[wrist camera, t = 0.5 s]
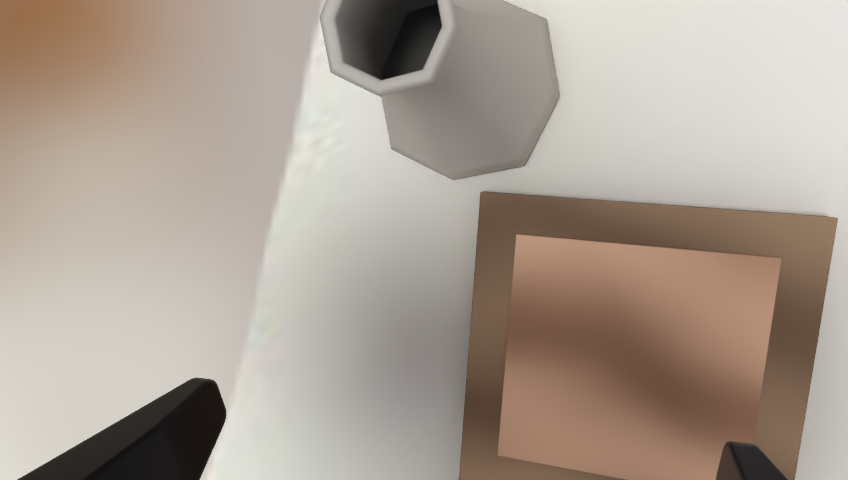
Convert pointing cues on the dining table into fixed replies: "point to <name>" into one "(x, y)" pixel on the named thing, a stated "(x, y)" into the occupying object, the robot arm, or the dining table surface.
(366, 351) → the dining table surface
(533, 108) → the flask
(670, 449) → the walnut board
